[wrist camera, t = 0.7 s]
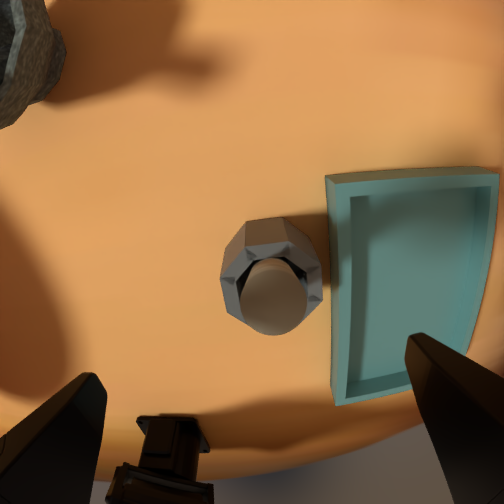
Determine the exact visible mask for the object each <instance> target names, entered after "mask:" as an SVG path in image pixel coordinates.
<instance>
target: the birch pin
mask: <svg viewBox="0 0 504 504" xmlns="http://www.w3.org/2000/svg"><path fill="white" fill-rule="evenodd" d="M240 309H241V313H242V316H243V318H244V319H245V321H246V322H247V324H248V325H249V326H250V327H251V328H253V329H254V330H256V331H257V332H259V333H262V334H265V335H281V334H285V333H287V332H289V331H291V330H293V329H294V328H295V327H296V326H297V325H298V324H299V323H300V322H301V321H302V319H303V317H304V315H305V313H306V309H307V296H306V293H305V290H304V288H303V286H302V285H301V283H300V281H299V280H298V278H297V277H296V275H295V274H294V272H293V271H292V269H291V268H290V266H289V264H288V263H287V261H286V260H285V259H284V258H283V257H275V258H267V259H259V260H256V261H255V263H254V265H253V267H252V269H251V272H250V274H249V276H248V279H247V281H246V283H245V286H244V288H243V291H242V294H241V298H240Z"/></svg>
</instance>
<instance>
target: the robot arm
mask: <svg viewBox="0 0 504 504" xmlns="http://www.w3.org/2000/svg"><path fill="white" fill-rule="evenodd" d="M404 361H405V366H406V369H407V372H408V375H409V379H410V382H411V385H412V388H413V392H414V395H415V399H416V402H417V405H418V408H419V411H420V414H421V416H422V419H423V421H424V423H425V426H426V428H427V431H428V433H429V435H430V438H431V441H432V443H433V446H434V448H435V451H436V454H437V456H438V459H439V461H440V464H441V467H442V470H443V472H444V475H445V478H446V481H447V484H448V486H449V489H450V492H451V495H452V498H453V501H454V504H504V378H502V377H500V376H499V375H497V374H495V373H493V372H492V371H490V370H488V369H487V368H485V367H483V366H481V365H480V364H478V363H476V362H474V361H473V360H471V359H469V358H467V357H466V356H464V355H462V354H460V353H459V352H457V351H455V350H453V349H452V348H450V347H448V346H446V345H445V344H443V343H441V342H439V341H438V340H436V339H434V338H432V337H431V336H429V335H427V334H425V333H423V332H419V333H415V334H411V335H409V336H408V339H407V344H406V350H405V356H404ZM106 405H107V392H106V390H105V388H104V386H103V385H102V383H101V381H100V380H99V378H98V376H97V375H96V374H95V373H92V372H84V373H81V374H80V375H79V376H77V377H76V378H75V379H74V380H72V381H71V382H70V383H69V384H67V385H66V386H65V387H64V388H62V389H61V390H60V391H58V392H57V393H56V394H55V395H53V396H52V397H51V398H50V399H48V400H47V401H46V402H45V403H43V404H42V405H41V406H40V407H38V408H37V409H36V410H35V411H33V412H32V413H31V414H30V415H28V416H27V417H26V418H25V419H23V420H22V421H21V422H20V423H18V424H17V425H16V426H15V427H13V428H12V429H11V430H10V431H8V432H7V434H4V435H3V436H2V437H1V438H0V504H89V503H90V497H91V492H92V486H93V481H94V476H95V470H96V465H97V461H98V456H99V451H100V447H101V442H102V435H103V428H104V420H105V412H106ZM136 423H137V424H138V426H139V427H140V429H141V430H142V432H143V433H144V435H145V439H144V443H143V447H142V452H141V456H140V460H139V464H138V467H137V466H133V465H130V464H129V463H127V462H124V463H123V466H118V467H116V470H115V474H114V477H113V480H112V483H111V485H110V488H109V490H108V492H107V494H106V497H105V502H106V503H107V504H214V489H213V484H210V483H207V484H206V483H201V482H196V477H197V468H198V460H199V453H209V452H210V447H209V445H208V443H207V441H206V439H205V437H204V434H203V432H202V430H201V428H200V426H199V424H198V421H197V420H196V419H194V418H156V417H137V420H136Z"/></svg>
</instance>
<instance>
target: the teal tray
mask: <svg viewBox="0 0 504 504" xmlns="http://www.w3.org/2000/svg"><path fill="white" fill-rule="evenodd" d="M499 175H500V174H498V173H495V172H493V171H490V170H487V169H484V168H481V167H440V168H417V169H399V170H384V171H370V172H357V173H346V174H335V175H325V185H326V198H327V212H328V229H329V250H330V278H331V378H330V386H331V390H332V394H333V398H334V402H335V406H340V405H345V404H350V403H355V402H360V401H365V400H370V399H374V398H379V397H383V396H387V395H391V394H395V393H399V392H403V391H407V390H411V389H413V388H412V385H411V382H410V379H409V375H408V372H407V369H406V366H405V361H404V356H405V350H406V344H407V339H408V336H409V335H411V334H415V333H419V332H423V333H425V334H427V335H429V336H431V337H432V338H434V339H436V340H438V341H439V342H441V343H443V344H445V345H446V346H448V347H450V348H452V349H453V350H455V351H457V352H459V353H460V354H462V355H464V356H465V355H466V352H467V349H468V346H469V343H470V340H471V337H472V333H473V330H474V327H475V323H476V319H477V316H478V312H479V308H480V304H481V300H482V296H483V292H484V288H485V283H486V278H487V273H488V268H489V263H490V257H491V252H492V245H493V239H494V232H495V224H496V215H497V205H498V193H499Z"/></svg>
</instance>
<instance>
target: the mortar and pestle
mask: <svg viewBox="0 0 504 504" xmlns="http://www.w3.org/2000/svg"><path fill="white" fill-rule="evenodd" d="M65 56H66V49H65V46H64V42H63V39H62V36H61V32H60V31H59V30H57V29H54V28H52V27H51V23H50V20H49V16H48V12H47V9H46V6H45V2H44V0H0V129H3V128H5V127H7V126H10V125H12V124H14V122H15V121H16V120H17V119H18V118H19V117H20V116H21V115H22V114H23V112H24V111H25V109H26V108H27V107H28V105H31V104H34V103H37V102H39V101H42V100H43V99H44V98H45V97H46V95H47V94H48V93H49V92H50V90H51V89H52V88H53V87H54V85H55V84H56V83H57V82H58V80H59V79H60V75H61V71H62V67H63V63H64V59H65Z"/></svg>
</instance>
